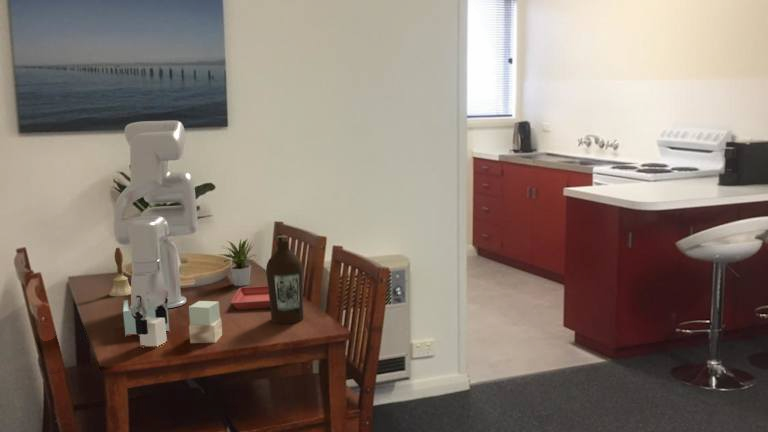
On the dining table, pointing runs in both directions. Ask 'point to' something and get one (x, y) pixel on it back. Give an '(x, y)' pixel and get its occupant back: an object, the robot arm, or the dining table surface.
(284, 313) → the olive oil
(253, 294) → the plant saucer
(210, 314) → the sage block
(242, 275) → the house plant
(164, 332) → the cream block
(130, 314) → the l-shaped corner panel
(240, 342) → the dining table surface
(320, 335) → the dining table surface
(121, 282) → the hand bell
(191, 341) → the oak base block
